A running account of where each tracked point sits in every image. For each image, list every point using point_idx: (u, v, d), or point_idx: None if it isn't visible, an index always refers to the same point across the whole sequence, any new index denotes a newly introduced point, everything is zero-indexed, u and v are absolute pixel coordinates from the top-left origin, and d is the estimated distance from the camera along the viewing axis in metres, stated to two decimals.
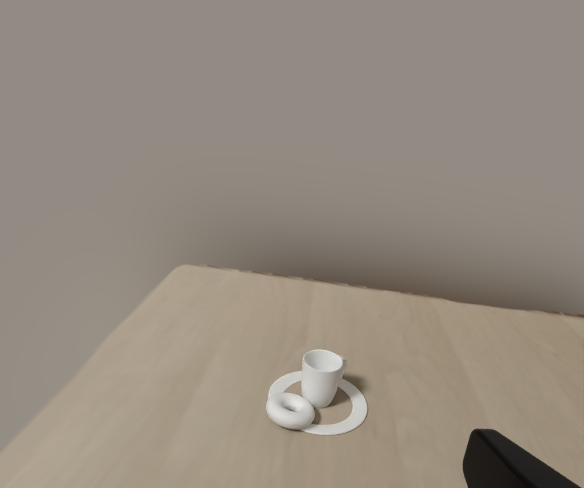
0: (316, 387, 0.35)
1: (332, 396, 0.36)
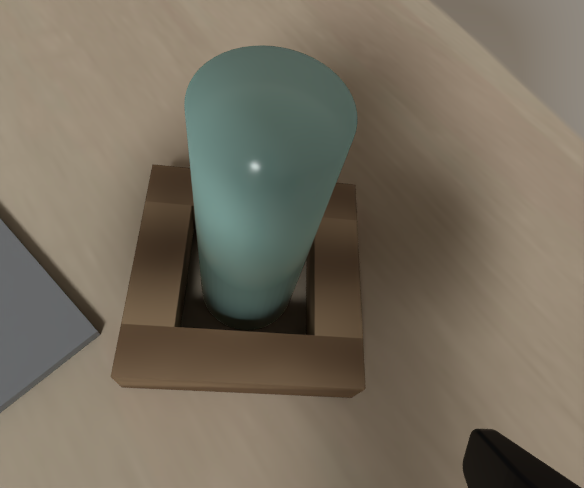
0: None
1: None
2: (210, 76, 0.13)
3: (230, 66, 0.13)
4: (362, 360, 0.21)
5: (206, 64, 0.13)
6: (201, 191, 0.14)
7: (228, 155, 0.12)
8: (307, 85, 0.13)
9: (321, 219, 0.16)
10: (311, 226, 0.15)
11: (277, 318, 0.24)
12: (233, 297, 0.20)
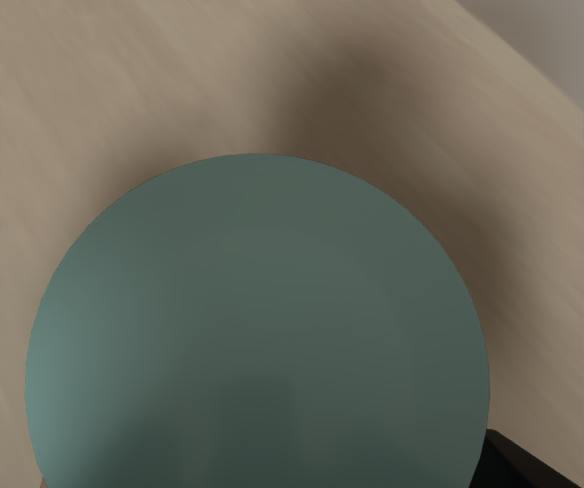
0: None
1: None
2: (111, 251, 0.05)
3: (166, 216, 0.05)
4: None
5: (108, 211, 0.05)
6: None
7: None
8: (356, 260, 0.05)
9: None
10: None
11: None
12: None
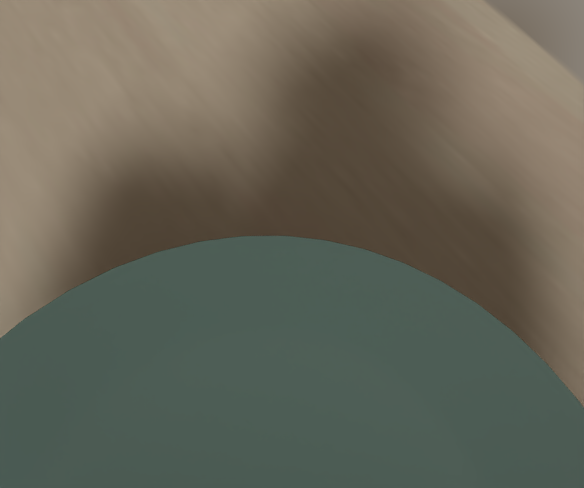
0: None
1: None
2: None
3: (89, 369, 0.03)
4: None
5: None
6: None
7: None
8: (439, 446, 0.03)
9: None
10: None
11: None
12: None
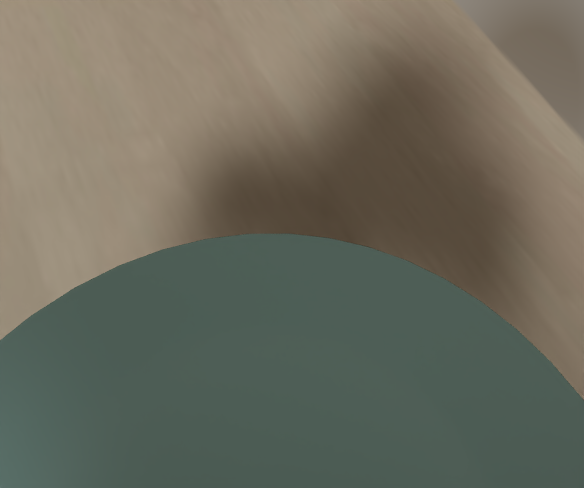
0: None
1: None
2: None
3: (95, 367, 0.03)
4: None
5: None
6: None
7: None
8: (443, 443, 0.03)
9: None
10: None
11: None
12: None
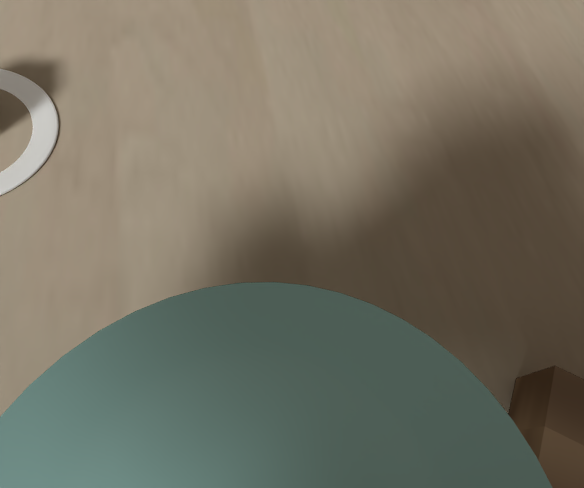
0: None
1: None
2: (29, 465, 0.03)
3: (117, 396, 0.04)
4: None
5: (30, 389, 0.04)
6: None
7: None
8: (395, 457, 0.04)
9: None
10: None
11: None
12: None
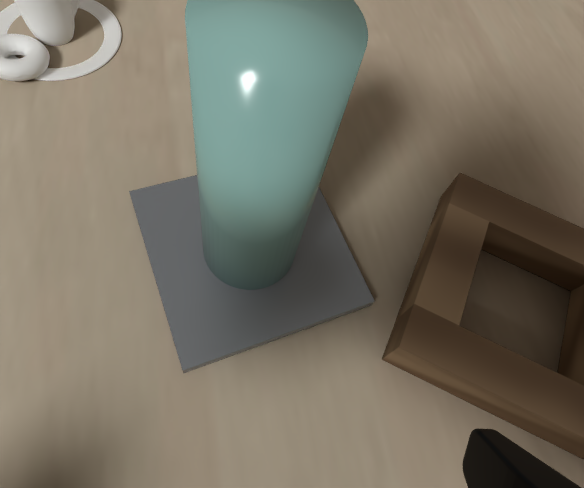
0: (38, 20, 0.27)
1: (69, 28, 0.29)
2: None
3: None
4: None
5: None
6: (203, 117, 0.13)
7: (232, 65, 0.11)
8: (314, 1, 0.13)
9: (328, 157, 0.16)
10: (318, 160, 0.15)
11: (280, 278, 0.23)
12: (236, 248, 0.19)
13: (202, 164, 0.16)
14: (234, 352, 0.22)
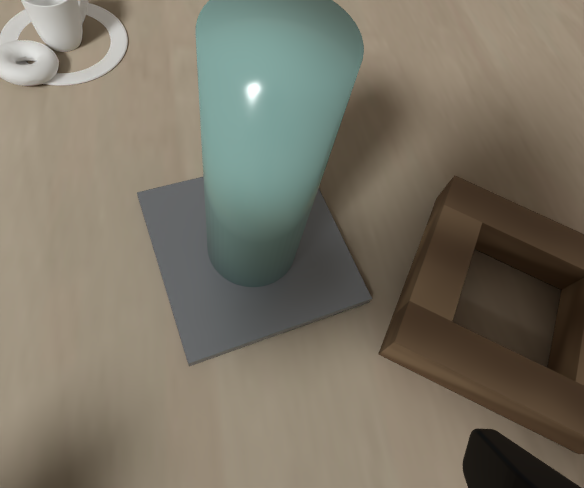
0: (48, 27, 0.28)
1: (78, 34, 0.30)
2: (220, 7, 0.13)
3: None
4: None
5: None
6: (211, 124, 0.14)
7: (239, 78, 0.12)
8: (314, 17, 0.14)
9: (327, 161, 0.17)
10: (317, 164, 0.16)
11: (282, 276, 0.24)
12: (240, 246, 0.20)
13: (209, 167, 0.17)
14: (237, 346, 0.23)
